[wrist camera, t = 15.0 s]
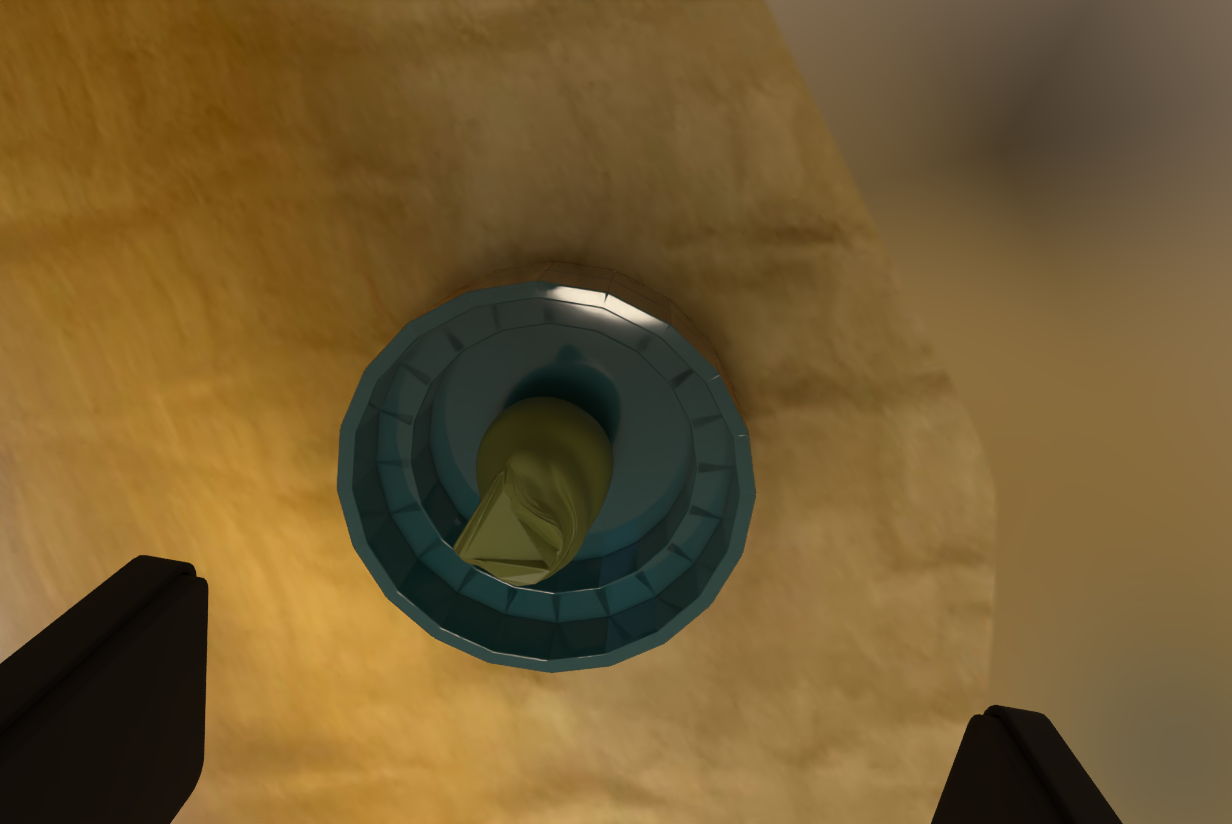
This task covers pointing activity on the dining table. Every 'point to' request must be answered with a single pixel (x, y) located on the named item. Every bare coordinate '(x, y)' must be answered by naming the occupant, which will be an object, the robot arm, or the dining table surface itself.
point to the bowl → (641, 482)
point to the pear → (536, 490)
